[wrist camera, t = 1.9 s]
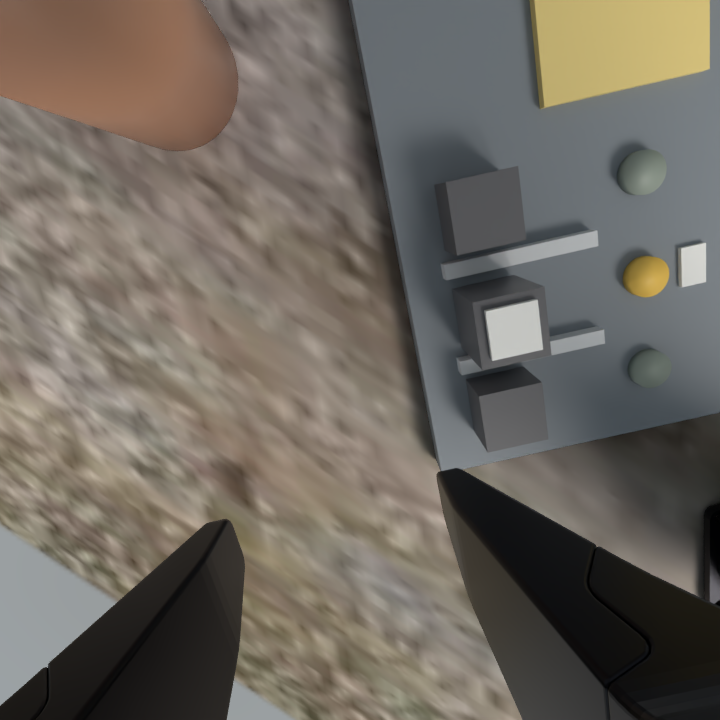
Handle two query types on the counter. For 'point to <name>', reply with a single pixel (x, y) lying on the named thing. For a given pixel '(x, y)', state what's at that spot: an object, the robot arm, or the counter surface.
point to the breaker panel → (554, 206)
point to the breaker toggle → (502, 321)
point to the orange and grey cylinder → (121, 66)
